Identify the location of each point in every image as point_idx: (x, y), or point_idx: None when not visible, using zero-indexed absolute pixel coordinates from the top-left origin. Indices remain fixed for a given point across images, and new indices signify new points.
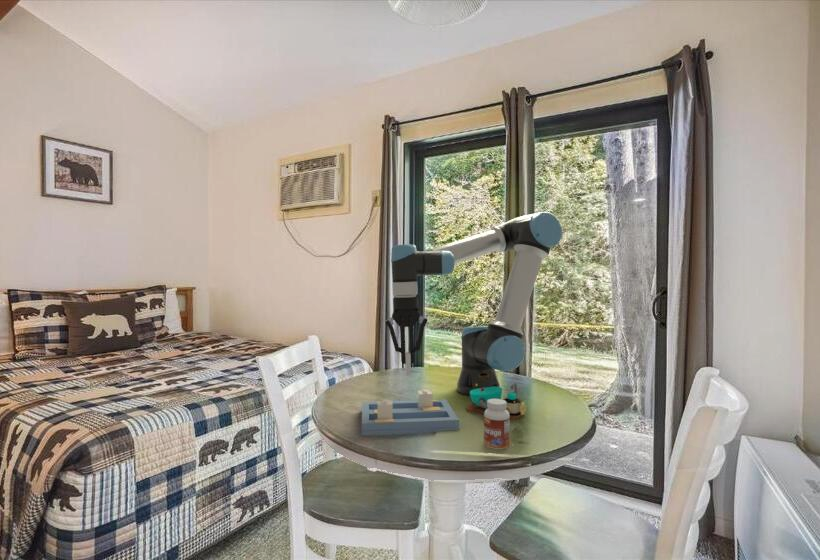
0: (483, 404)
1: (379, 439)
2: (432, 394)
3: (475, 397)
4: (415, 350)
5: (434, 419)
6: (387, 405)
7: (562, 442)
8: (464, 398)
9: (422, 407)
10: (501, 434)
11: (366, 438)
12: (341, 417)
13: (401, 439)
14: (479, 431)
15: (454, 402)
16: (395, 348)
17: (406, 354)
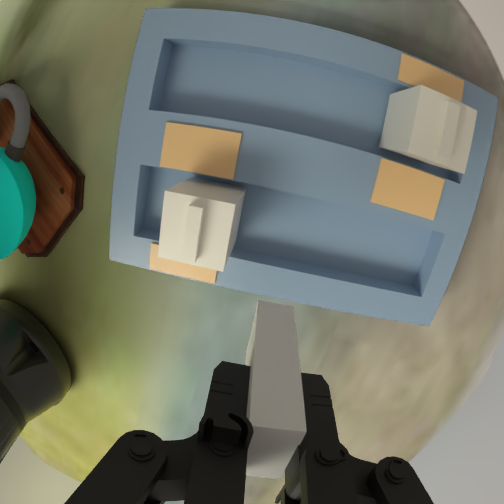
0: (22, 105)
1: (436, 47)
2: (166, 191)
3: (20, 175)
4: (177, 447)
5: (234, 24)
6: (440, 93)
7: None
8: (59, 324)
9: (233, 175)
10: None
11: (467, 74)
12: (479, 282)
13: (372, 15)
14: (104, 20)
15: (88, 303)
16: (417, 483)
17: (295, 424)
